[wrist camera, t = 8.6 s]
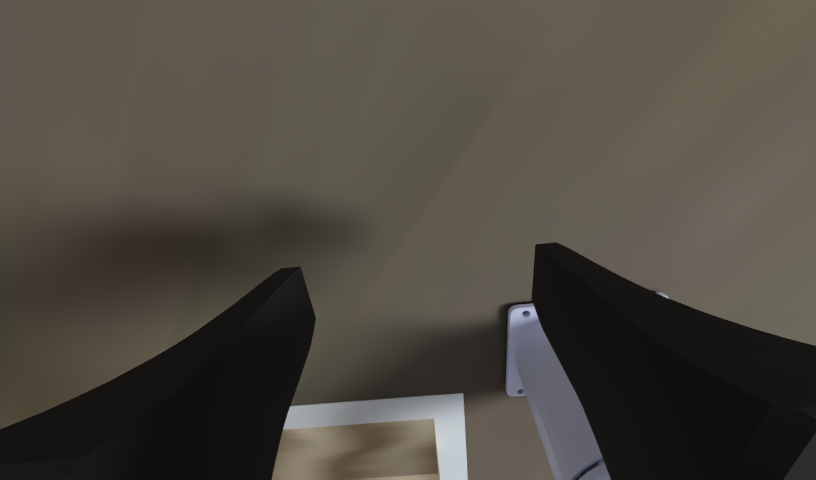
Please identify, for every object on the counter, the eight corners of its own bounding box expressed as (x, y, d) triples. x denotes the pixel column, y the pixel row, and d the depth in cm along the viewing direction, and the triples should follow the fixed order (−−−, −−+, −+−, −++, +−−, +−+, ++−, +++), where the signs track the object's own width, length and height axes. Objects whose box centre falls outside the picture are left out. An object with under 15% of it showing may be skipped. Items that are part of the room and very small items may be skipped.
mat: (462, 390, 26) (463, 393, 26) (468, 504, 34) (468, 508, 33) (251, 406, 27) (249, 409, 27) (303, 514, 34) (302, 518, 34)
